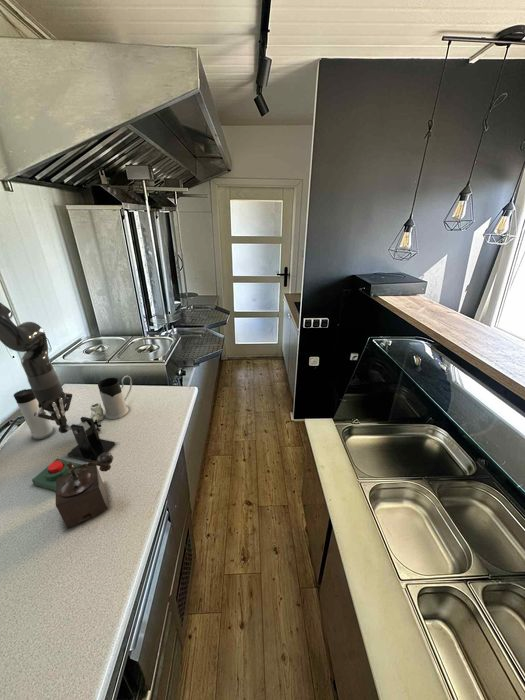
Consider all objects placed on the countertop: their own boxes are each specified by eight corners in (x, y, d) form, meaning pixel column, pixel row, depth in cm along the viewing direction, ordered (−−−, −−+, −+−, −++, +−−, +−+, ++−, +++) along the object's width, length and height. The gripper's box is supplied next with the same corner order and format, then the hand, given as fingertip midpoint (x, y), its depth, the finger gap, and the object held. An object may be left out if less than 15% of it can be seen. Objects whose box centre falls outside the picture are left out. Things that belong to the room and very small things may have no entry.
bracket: (68, 456, 99) (55, 428, 94) (88, 438, 107) (78, 411, 102) (96, 463, 96) (85, 434, 91) (115, 444, 104) (106, 416, 99)
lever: (59, 435, 100) (54, 428, 99) (67, 429, 103) (62, 422, 102) (84, 433, 96) (79, 425, 95) (92, 426, 98) (87, 419, 97)
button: (47, 472, 89) (45, 468, 88) (57, 463, 92) (55, 459, 91) (56, 474, 88) (54, 470, 87) (66, 465, 91) (64, 461, 90)
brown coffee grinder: (66, 531, 76) (41, 485, 68) (65, 500, 84) (43, 455, 76) (128, 502, 83) (112, 457, 75) (121, 475, 92) (107, 432, 84)
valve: (91, 416, 119) (84, 436, 108) (87, 403, 116) (79, 422, 106) (109, 413, 120) (103, 432, 110) (105, 400, 118) (99, 418, 107)
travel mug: (30, 441, 106) (8, 397, 98) (38, 429, 112) (18, 387, 103) (48, 439, 107) (28, 395, 99) (56, 427, 113) (37, 384, 105)
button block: (34, 485, 89) (29, 476, 87) (59, 462, 97) (55, 454, 95) (61, 493, 86) (57, 483, 85) (85, 469, 94) (82, 460, 92)
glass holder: (101, 415, 120) (91, 385, 113) (129, 397, 131) (122, 369, 124) (114, 421, 116) (105, 390, 109) (143, 402, 127) (135, 373, 120)
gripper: (54, 371, 99) (70, 411, 107) (15, 392, 88) (36, 435, 95) (71, 374, 97) (86, 414, 105) (34, 396, 86) (54, 439, 93)
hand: (62, 424), depth 100 cm, fingers closed
